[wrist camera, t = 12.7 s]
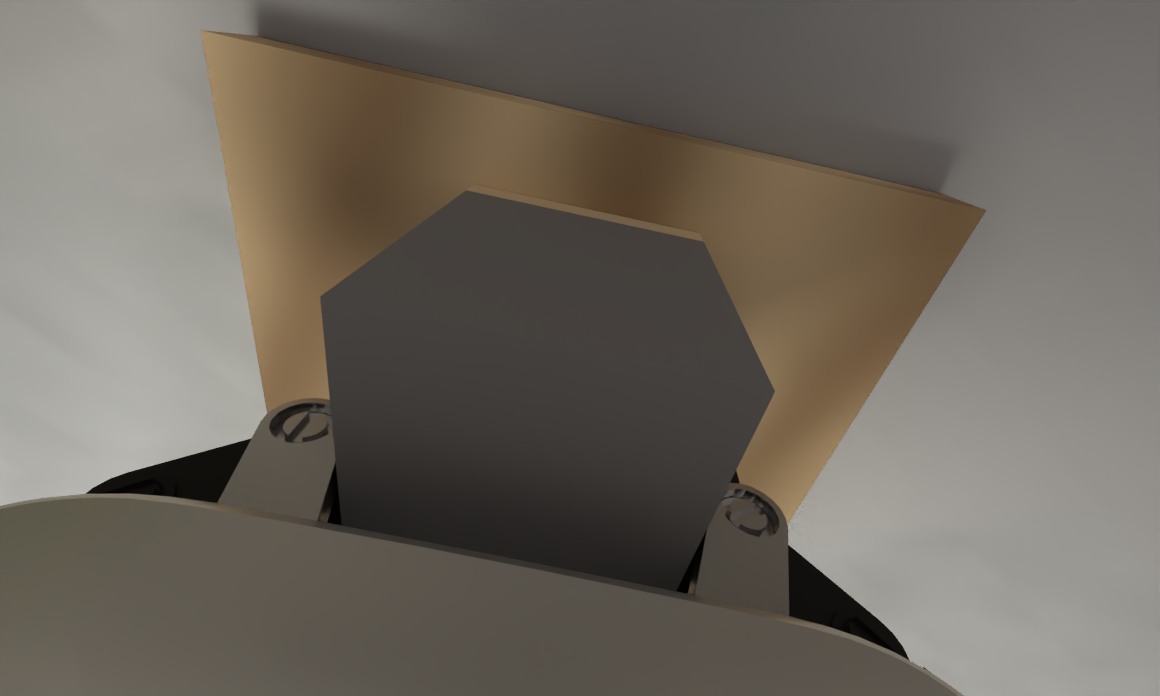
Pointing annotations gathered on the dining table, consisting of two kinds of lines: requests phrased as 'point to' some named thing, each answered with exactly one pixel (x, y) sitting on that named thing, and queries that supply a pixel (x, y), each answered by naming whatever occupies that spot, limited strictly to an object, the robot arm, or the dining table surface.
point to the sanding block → (541, 387)
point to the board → (583, 179)
